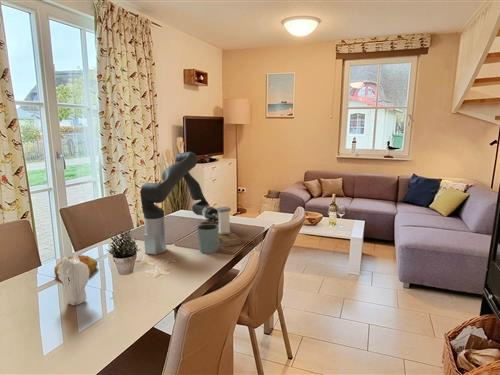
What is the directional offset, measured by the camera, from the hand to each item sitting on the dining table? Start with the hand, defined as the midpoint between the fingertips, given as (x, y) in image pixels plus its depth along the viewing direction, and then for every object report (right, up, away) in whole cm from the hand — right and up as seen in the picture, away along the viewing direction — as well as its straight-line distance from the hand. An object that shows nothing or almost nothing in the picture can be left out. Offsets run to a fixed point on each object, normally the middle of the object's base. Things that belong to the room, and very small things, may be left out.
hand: (222, 221), depth 172 cm
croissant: (-57, -18, -39) cm, 71 cm away
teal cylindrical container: (-6, -13, -15) cm, 20 cm away
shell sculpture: (-46, -22, -60) cm, 79 cm away
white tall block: (+1, -6, 0) cm, 6 cm away
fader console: (+1, -9, +1) cm, 10 cm away
